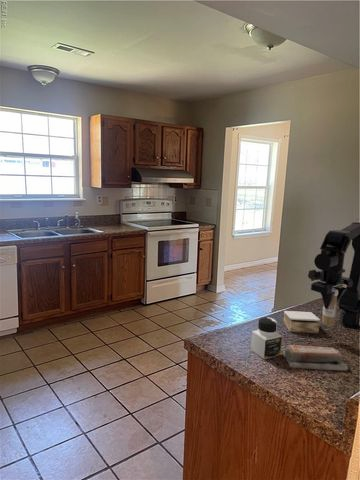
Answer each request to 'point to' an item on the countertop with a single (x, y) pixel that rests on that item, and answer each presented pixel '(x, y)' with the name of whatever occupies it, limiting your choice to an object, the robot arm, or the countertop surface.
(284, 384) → the countertop surface
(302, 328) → the box
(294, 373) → the countertop surface
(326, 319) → the sprinkles bottle
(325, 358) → the packaged product
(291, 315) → the lid
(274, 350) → the medicine bottle
